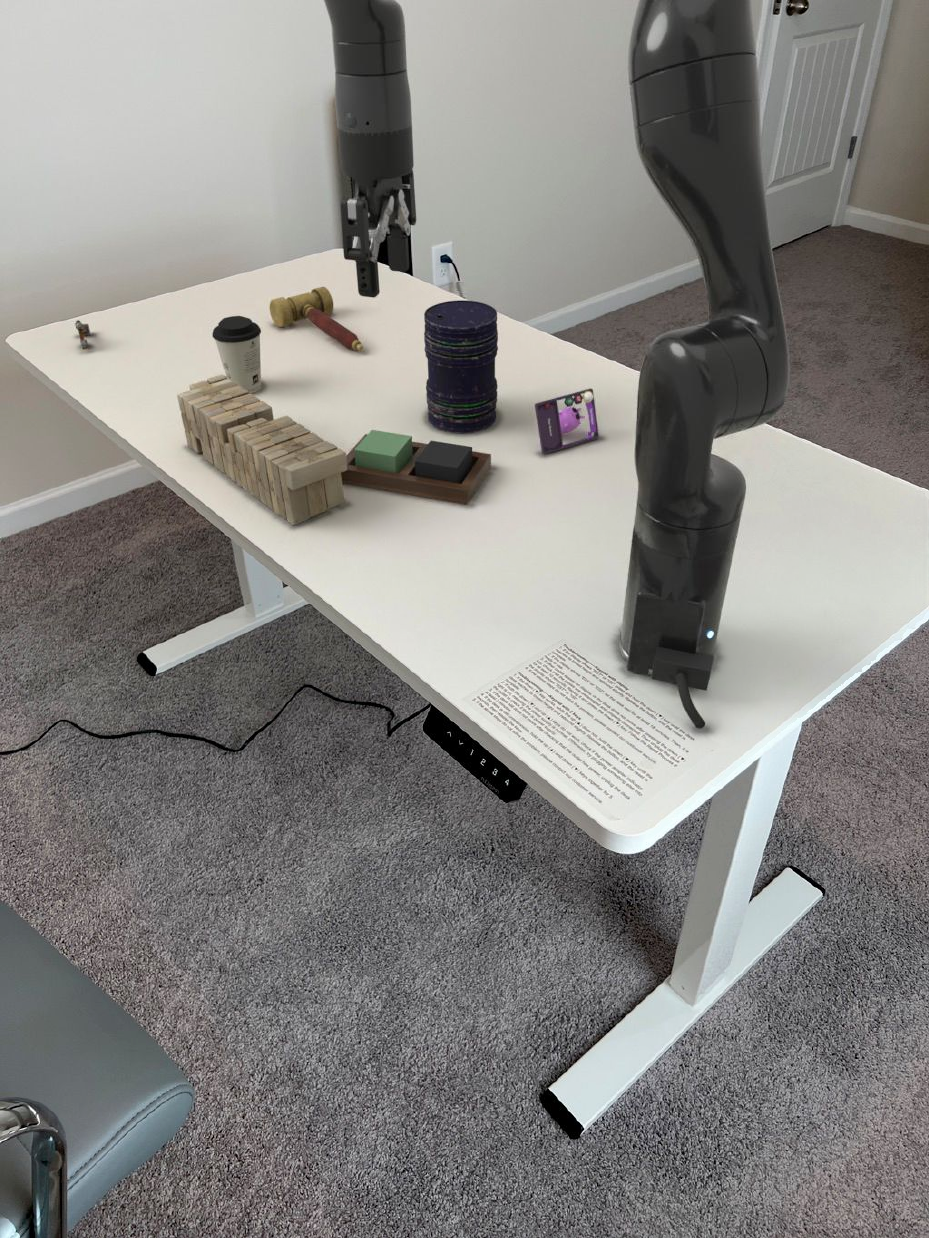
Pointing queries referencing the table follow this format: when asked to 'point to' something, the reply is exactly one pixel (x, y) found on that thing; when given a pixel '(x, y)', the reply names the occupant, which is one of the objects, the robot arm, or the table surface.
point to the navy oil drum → (461, 365)
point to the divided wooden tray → (418, 478)
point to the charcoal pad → (444, 462)
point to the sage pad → (384, 451)
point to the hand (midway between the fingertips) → (384, 282)
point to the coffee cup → (240, 351)
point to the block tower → (262, 449)
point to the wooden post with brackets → (82, 333)
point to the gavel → (313, 315)
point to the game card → (564, 420)
